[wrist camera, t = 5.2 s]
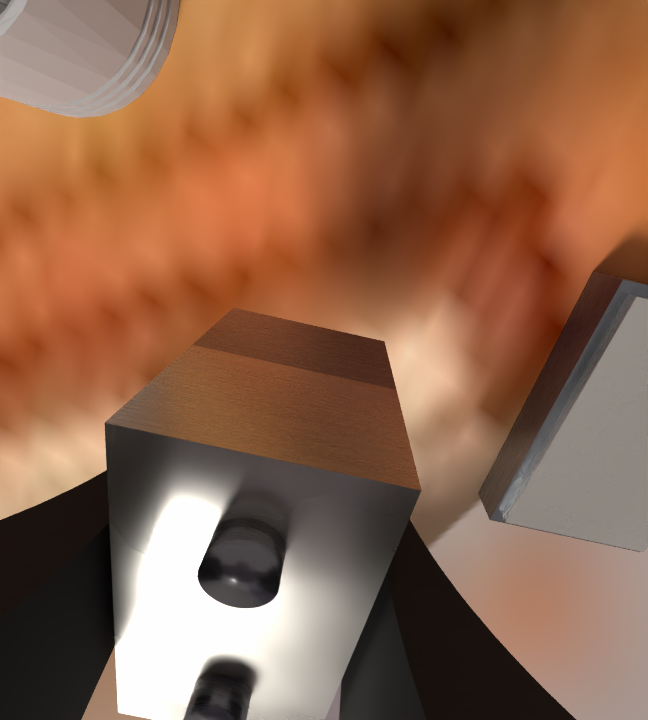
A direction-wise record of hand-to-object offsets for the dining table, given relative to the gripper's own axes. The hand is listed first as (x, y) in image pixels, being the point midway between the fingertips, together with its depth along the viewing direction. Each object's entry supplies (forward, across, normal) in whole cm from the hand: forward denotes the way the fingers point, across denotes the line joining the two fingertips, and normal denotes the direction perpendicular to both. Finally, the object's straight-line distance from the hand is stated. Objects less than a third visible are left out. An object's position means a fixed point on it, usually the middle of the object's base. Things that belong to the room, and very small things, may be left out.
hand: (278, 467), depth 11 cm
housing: (+2, 0, 0) cm, 2 cm away
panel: (+9, -17, 0) cm, 19 cm away
